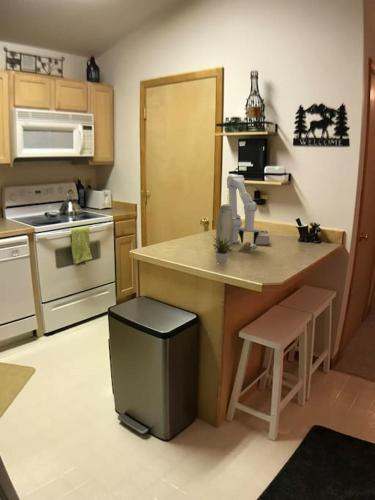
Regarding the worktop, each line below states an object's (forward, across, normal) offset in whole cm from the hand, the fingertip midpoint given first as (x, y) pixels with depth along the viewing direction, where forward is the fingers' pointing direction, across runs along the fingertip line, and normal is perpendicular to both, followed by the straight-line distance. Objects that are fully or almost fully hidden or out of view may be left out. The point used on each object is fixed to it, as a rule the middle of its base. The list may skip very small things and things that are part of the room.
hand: (248, 243), depth 252 cm
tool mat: (+3, 0, 0) cm, 3 cm away
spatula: (+3, 0, 0) cm, 3 cm away
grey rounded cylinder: (+4, -13, -9) cm, 16 cm away
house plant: (+4, -7, -39) cm, 40 cm away
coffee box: (0, +6, +14) cm, 15 cm away
